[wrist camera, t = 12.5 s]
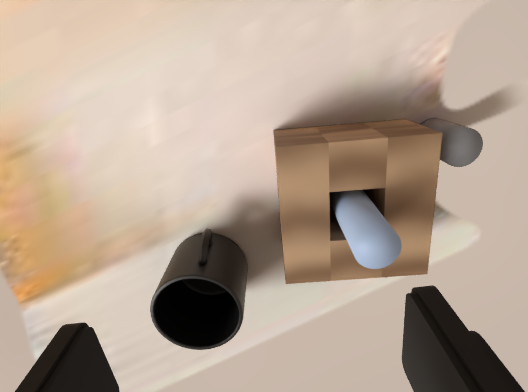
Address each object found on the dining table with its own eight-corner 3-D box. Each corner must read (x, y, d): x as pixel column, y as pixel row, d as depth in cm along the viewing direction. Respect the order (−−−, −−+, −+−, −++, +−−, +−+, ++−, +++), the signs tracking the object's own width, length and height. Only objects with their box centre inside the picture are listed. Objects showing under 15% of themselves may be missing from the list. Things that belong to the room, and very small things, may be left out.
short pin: (416, 119, 35) (444, 129, 30) (450, 116, 35) (485, 126, 30) (413, 152, 37) (440, 168, 31) (446, 150, 36) (479, 165, 31)
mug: (253, 216, 40) (249, 257, 31) (244, 298, 44) (239, 354, 35) (173, 208, 39) (148, 247, 31) (172, 292, 44) (150, 346, 35)
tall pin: (323, 172, 37) (353, 229, 24) (355, 169, 37) (403, 225, 24) (323, 201, 39) (353, 270, 26) (354, 199, 39) (400, 267, 26)
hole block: (273, 130, 36) (275, 147, 28) (405, 118, 35) (442, 133, 28) (282, 244, 41) (285, 283, 33) (397, 235, 40) (427, 274, 33)
